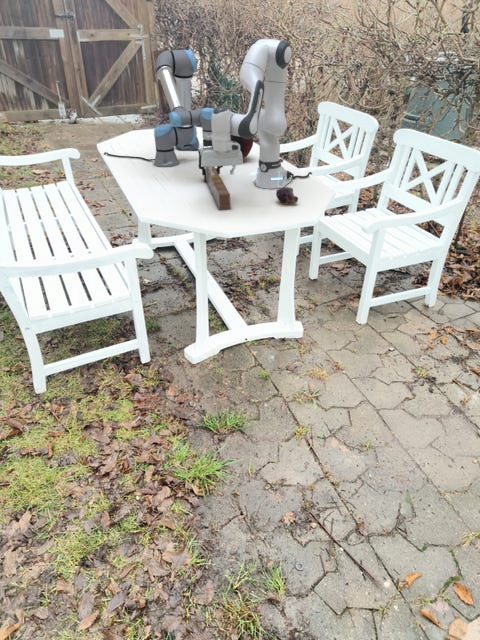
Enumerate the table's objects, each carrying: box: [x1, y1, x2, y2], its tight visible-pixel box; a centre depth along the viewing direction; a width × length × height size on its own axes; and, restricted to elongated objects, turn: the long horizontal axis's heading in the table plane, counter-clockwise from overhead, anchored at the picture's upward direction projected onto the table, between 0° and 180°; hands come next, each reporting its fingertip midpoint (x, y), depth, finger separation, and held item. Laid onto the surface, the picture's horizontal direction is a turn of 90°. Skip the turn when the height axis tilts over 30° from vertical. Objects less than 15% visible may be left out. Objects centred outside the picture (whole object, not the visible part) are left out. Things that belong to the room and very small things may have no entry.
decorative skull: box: [230, 135, 254, 160], centre depth 296 cm, size 21×24×25 cm
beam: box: [205, 166, 231, 211], centre depth 244 cm, size 52×5×8 cm, turn 11°
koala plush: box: [174, 136, 200, 151], centre depth 322 cm, size 17×18×20 cm
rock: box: [275, 186, 299, 205], centre depth 230 cm, size 12×9×10 cm
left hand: (211, 180), depth 263 cm, fingers open, 6 cm apart
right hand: (222, 174), depth 220 cm, fingers open, 8 cm apart
